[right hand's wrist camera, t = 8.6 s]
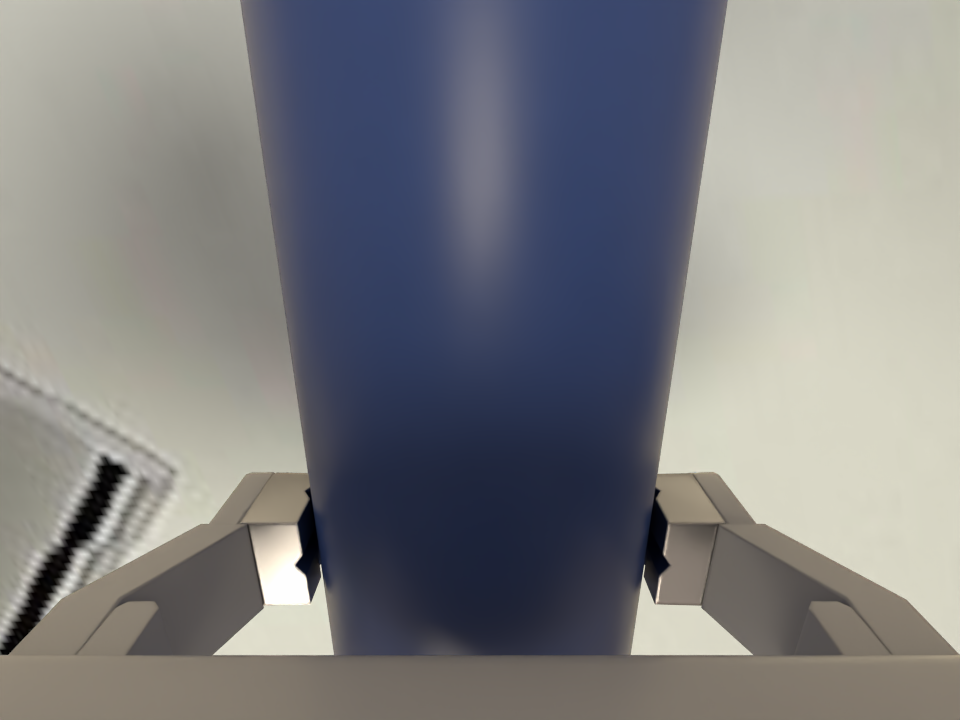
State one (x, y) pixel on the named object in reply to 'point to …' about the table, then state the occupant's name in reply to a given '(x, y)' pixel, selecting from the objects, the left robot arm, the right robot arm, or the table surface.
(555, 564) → the rod
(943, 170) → the table surface
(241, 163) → the table surface
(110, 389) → the table surface
